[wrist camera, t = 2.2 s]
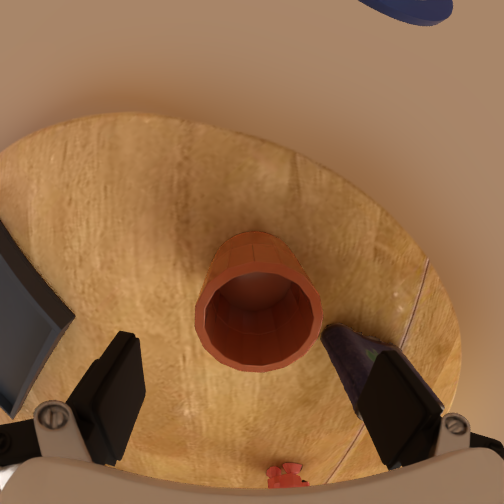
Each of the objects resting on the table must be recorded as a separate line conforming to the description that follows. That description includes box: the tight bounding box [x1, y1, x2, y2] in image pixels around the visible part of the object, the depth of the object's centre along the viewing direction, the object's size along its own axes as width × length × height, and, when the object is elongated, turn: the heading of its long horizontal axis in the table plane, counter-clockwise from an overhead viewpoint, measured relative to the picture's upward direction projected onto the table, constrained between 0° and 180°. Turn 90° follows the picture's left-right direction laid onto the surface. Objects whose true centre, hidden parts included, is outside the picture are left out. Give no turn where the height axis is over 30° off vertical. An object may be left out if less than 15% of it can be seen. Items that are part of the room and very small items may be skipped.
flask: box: [321, 323, 445, 420], centre depth 17 cm, size 9×3×11 cm, turn 63°
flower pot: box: [195, 231, 323, 372], centre depth 16 cm, size 6×6×7 cm
